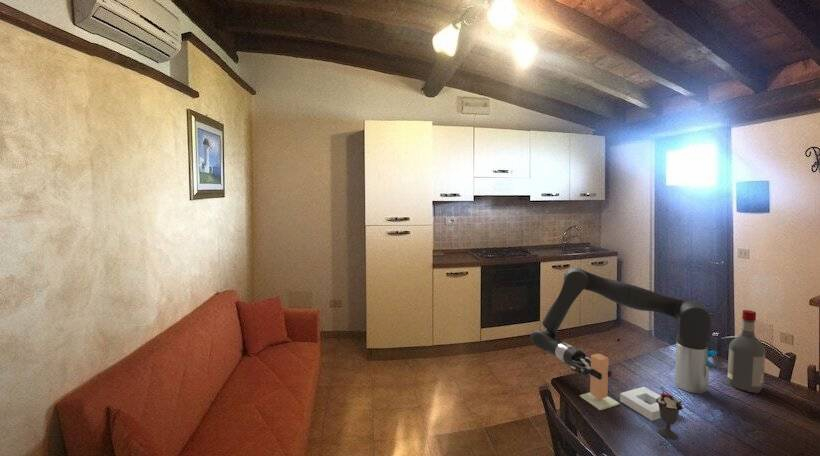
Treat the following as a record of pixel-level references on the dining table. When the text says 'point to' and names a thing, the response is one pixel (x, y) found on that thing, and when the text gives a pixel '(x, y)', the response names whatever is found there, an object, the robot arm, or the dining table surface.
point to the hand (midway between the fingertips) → (605, 375)
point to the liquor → (746, 357)
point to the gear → (710, 355)
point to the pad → (599, 401)
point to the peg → (601, 386)
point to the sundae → (668, 413)
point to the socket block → (642, 402)
